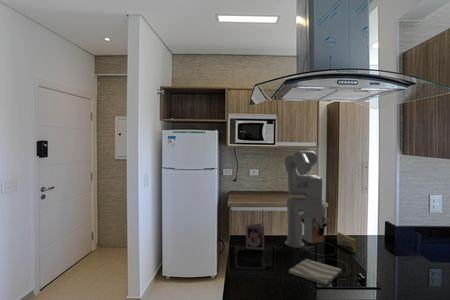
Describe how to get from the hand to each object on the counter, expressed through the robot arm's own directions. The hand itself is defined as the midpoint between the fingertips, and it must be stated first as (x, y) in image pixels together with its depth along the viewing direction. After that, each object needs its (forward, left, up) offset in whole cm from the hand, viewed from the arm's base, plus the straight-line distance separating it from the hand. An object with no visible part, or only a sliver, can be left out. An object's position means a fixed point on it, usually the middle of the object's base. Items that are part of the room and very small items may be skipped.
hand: (313, 233), depth 151 cm
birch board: (0, +1, -20) cm, 20 cm away
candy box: (-48, +1, -21) cm, 52 cm away
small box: (0, 0, -4) cm, 4 cm away
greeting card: (-8, -43, -20) cm, 48 cm away
